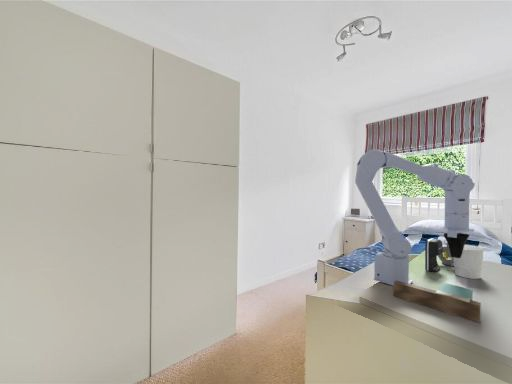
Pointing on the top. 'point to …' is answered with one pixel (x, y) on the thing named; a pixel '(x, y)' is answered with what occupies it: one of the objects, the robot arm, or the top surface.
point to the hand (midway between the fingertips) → (456, 257)
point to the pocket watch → (446, 256)
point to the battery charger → (432, 254)
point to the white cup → (469, 262)
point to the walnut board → (439, 300)
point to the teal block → (456, 290)
